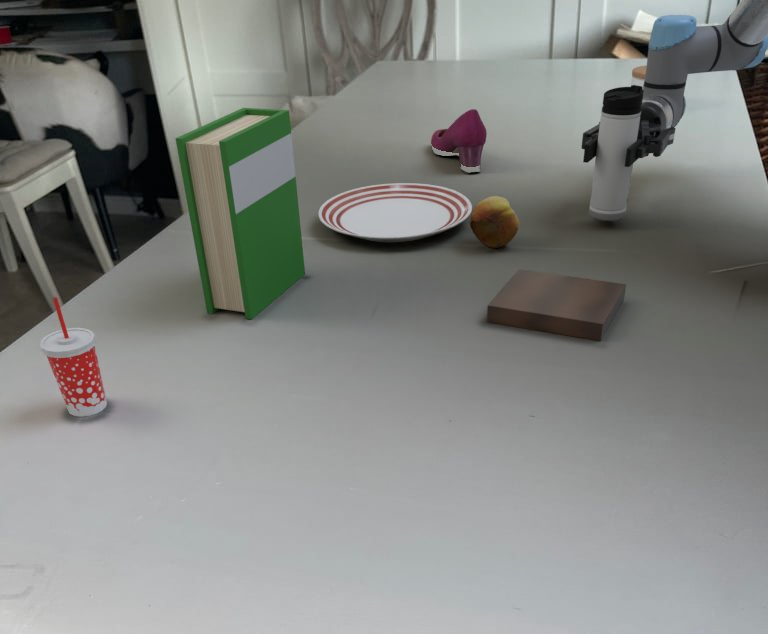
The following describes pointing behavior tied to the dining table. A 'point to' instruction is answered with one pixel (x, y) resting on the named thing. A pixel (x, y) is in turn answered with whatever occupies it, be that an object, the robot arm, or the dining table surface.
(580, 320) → the serving board
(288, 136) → the hardback book
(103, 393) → the beverage cup
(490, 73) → the dining table surface
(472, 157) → the high heel
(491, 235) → the fruit
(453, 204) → the dinner plate
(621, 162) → the travel mug
